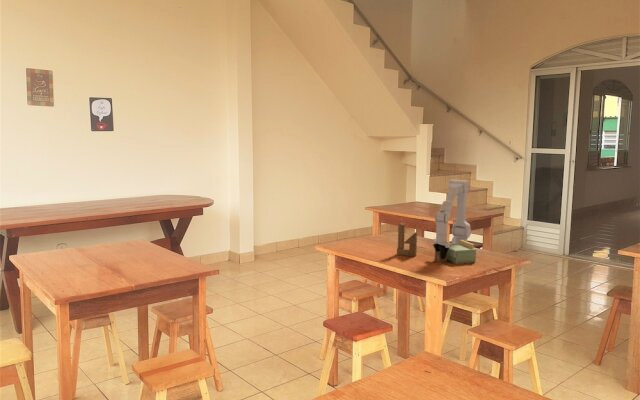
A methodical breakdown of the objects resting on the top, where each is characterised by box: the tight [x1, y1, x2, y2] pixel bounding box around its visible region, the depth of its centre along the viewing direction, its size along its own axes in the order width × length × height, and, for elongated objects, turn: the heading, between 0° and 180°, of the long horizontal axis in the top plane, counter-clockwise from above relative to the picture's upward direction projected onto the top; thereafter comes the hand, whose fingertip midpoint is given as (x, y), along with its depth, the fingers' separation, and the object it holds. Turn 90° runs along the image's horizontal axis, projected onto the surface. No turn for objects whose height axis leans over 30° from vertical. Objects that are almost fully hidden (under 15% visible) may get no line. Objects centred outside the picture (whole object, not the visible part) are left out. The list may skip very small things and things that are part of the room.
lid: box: [447, 240, 477, 258], centre depth 294 cm, size 16×13×6 cm
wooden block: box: [396, 223, 418, 258], centre depth 303 cm, size 4×11×18 cm, turn 68°
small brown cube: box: [434, 250, 448, 263], centre depth 292 cm, size 4×5×5 cm
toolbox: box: [447, 250, 477, 265], centre depth 295 cm, size 16×12×6 cm
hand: (440, 257), depth 292 cm, fingers closed on small brown cube, 4 cm apart
